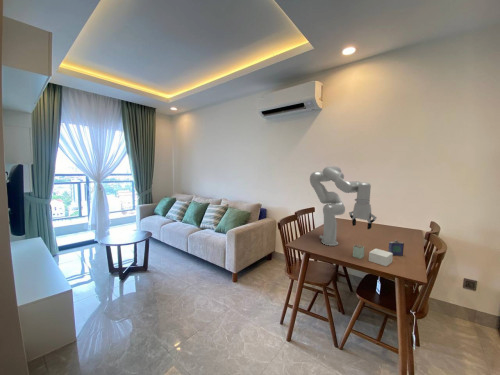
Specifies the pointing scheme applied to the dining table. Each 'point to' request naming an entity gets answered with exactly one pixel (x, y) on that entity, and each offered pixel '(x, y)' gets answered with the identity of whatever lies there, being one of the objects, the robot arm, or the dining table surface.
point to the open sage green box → (358, 251)
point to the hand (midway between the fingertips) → (361, 227)
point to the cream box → (380, 257)
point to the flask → (396, 248)
